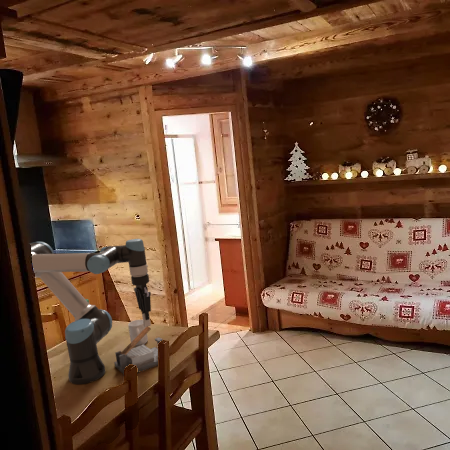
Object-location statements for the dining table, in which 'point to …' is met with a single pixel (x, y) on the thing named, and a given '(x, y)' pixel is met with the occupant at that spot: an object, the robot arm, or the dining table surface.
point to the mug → (137, 331)
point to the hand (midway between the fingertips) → (147, 325)
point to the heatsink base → (138, 358)
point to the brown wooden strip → (135, 341)
